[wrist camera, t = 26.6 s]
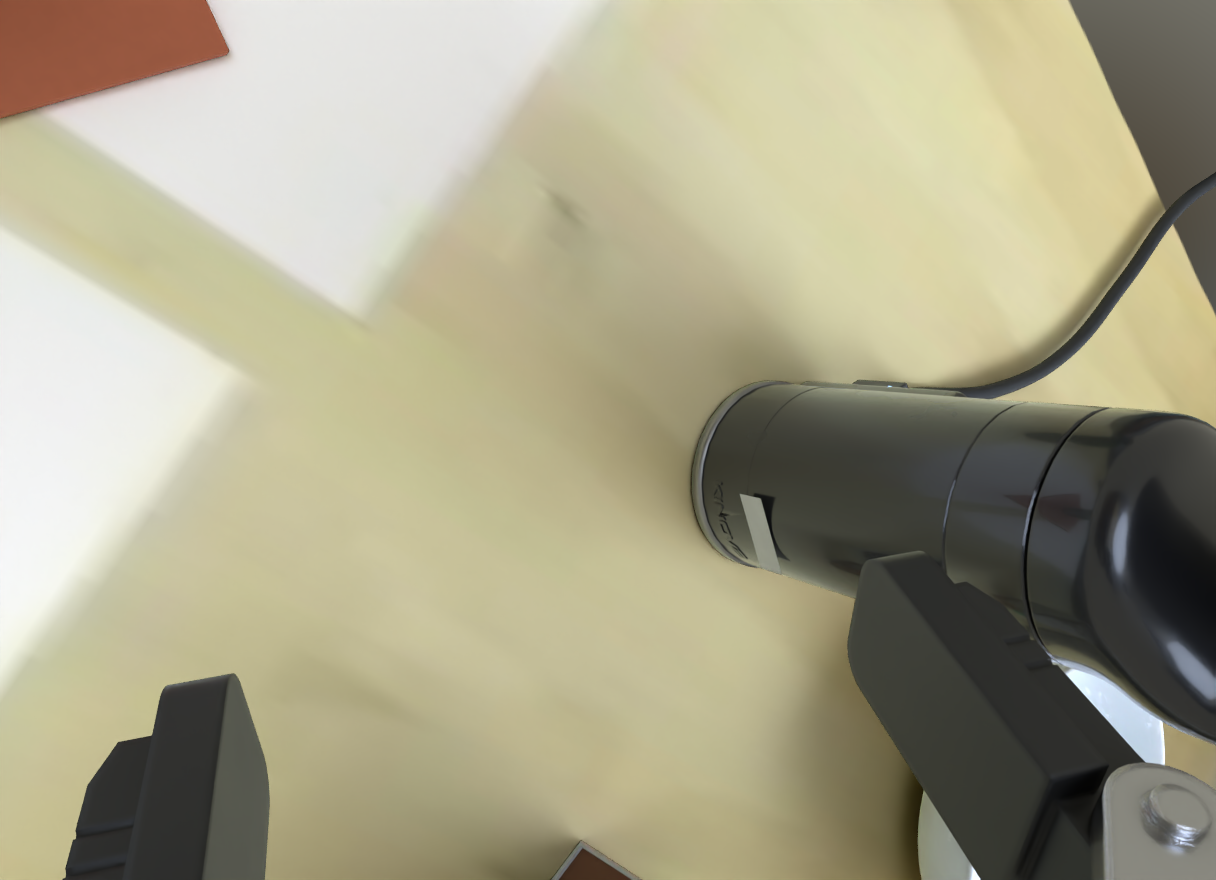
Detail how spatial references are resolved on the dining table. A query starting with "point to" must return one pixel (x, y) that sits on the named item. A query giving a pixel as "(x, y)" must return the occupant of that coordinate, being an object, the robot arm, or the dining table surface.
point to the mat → (96, 46)
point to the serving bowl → (938, 851)
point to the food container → (591, 866)
